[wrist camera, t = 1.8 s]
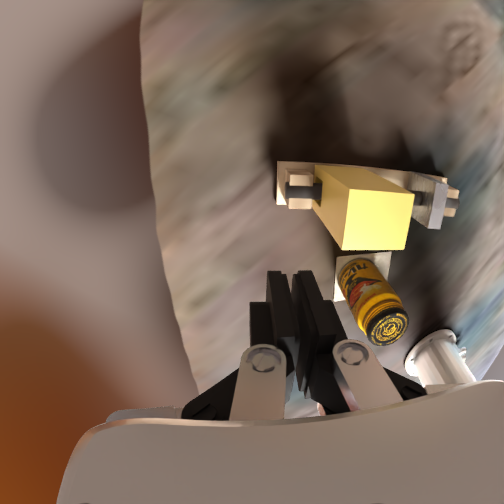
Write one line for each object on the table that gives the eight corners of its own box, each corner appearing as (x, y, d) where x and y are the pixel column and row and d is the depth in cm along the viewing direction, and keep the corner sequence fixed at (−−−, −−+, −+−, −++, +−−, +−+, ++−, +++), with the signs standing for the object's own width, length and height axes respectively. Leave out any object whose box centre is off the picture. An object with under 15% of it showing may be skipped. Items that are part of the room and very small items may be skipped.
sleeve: (364, 168, 30) (414, 194, 20) (359, 209, 33) (403, 249, 22) (314, 164, 30) (349, 189, 20) (311, 207, 32) (341, 249, 22)
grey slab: (421, 172, 31) (448, 184, 26) (415, 211, 34) (440, 229, 28) (409, 171, 31) (436, 183, 26) (403, 210, 34) (427, 228, 28)
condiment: (336, 256, 37) (367, 310, 27) (391, 250, 37) (434, 298, 26) (333, 300, 41) (357, 359, 30) (384, 293, 40) (418, 345, 30)
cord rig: (444, 177, 32) (465, 186, 28) (438, 210, 34) (457, 222, 30) (277, 161, 32) (282, 168, 27) (276, 202, 34) (280, 215, 29)
